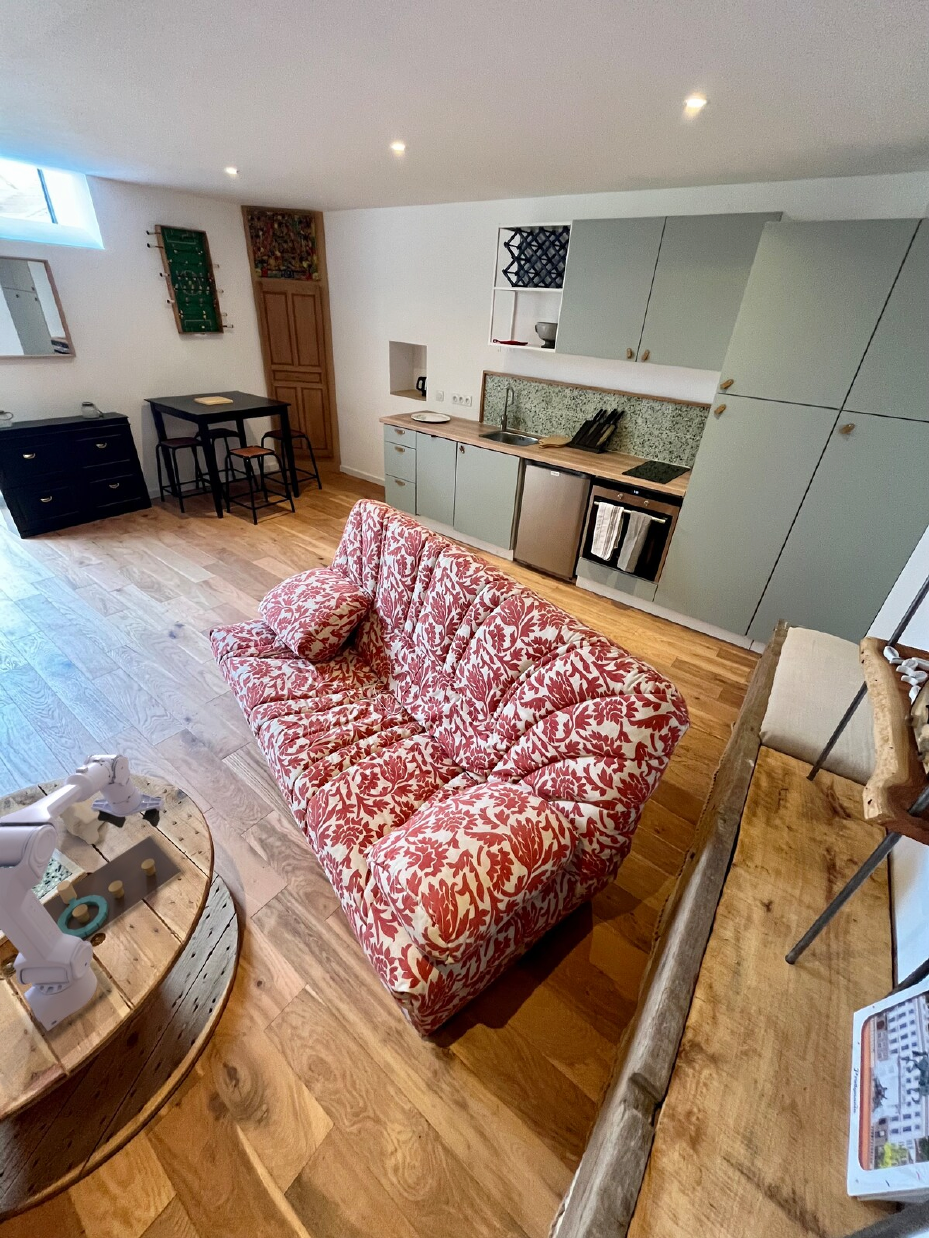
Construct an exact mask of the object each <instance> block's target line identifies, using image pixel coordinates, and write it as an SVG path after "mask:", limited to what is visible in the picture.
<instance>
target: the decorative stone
mask: <svg viewBox="0 0 929 1238" xmlns="http://www.w3.org/2000/svg"><path fill="white" fill-rule="evenodd" d="M94 800H95V799H93V798H89V799H87V800H86V801H83V802H74V803H73V804H72V805H71V806H70V807H68V808H67V809H66V810H65V811H64V812H63V813H62V814H60V815H59V816H58V817H59V818H60V819H62V821H63V823H64V824H65V829H66V830H67V831H68V832H69V833H70V834H71V835H73V836H75V837H78V838H80V839H81V840H83V841H85V843H87V845H90V846H91V845H93V844H95V843H96V842H97V841H98V840H99V839H100V834H99V829H100V827H101V826H102V825H103V824H104V823H106V822H105V821H99V820H98V815H99V811H98V812H94V811H93V810H92V809H91V806H92V804H93V802H94Z"/></svg>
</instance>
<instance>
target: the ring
mask: <svg viewBox="0 0 929 1238" xmlns="http://www.w3.org/2000/svg"><path fill="white" fill-rule="evenodd" d="M72 886H73V885H72V882H71V881H70V880H62V881H61V882H59V883H58V884H57V886H56V890H57V892H58V895H59V894H60V896H61V898H62V900H63V901H64V903H65V904H70V905H69V906H68V907H69V908H68V907H67V908H66V909H65V911H64V912H63V913H62V914H61V916H60V918H59V919H58V924H57V926H58V927H59V929H60V930H61V931H62V933H64V934H68V935H72V936H76V937H79V938H83V937H86V935H89V934H91V933H92V932H94V931H95V930H96V929H98V928H99V927H100V926H101V924H102V923H103V922H104V920H105V919H106V916H107V915H108V909H109V906H108V904H107V902H106V901H105V899H104V898H103V897H102V896H97V895H93V896H92V895H90V896H87V897H83V898H81V899H78V900H76V898H77V894H76V893H75V891H74V889H73V887H72ZM82 904H85V905H87V906H88V905H97V906H99V913H98V915H97V916H96V918H95V919H94V920H93V921H92V922H91V923H90V924H88V925H87V926H85V927H83V928H80V929H77V930H71V929H68V928H67V924H68V920H69V919H70V917H71V916H72V915H73V914H72V913H73V910H74V909H75V908H76V907H77V906H79V905H82ZM98 926H99V927H98Z"/></svg>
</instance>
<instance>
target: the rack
mask: <svg viewBox="0 0 929 1238" xmlns="http://www.w3.org/2000/svg"><path fill="white" fill-rule="evenodd" d="M179 873H181V869H180V868H179V867H178V866H177V865H176V864H175V862H173V860H172V859H171V858H170V857H169V856H168V855H167V853H166V852H164V850H163V849H162V848H161V847H160V846H159V845H158V844H157V842H156V841H155V840H154V839H153V838H152V837H151V836H147V837H146V838H144V839H143V840H141V841H140V842H137V844H135V845H134V846H132V847H130V848H129V849H128V850H127V849H126V851H124V852H123V853H121V854H120V855H118V856H117V857H115V858H114V859H112V860H110V861H109V862H107V863H105V864H103V866H101V867H99V868H98V869H96V870H95V871H93V872H92V873H90V874H89V875H87V876H85V877H84V878H82V879H81V880H79V881H78V882H77V883H75V884H73V885H72V887H73V889H74V891H75V893H76V894H77V898H76V900H78V899H81V898H83V897H87V896H90V895H92V896H93V895H97V896H102V897H103V898H104V899H105V901H106V902H107V904H108V906H109V909H108V915H107V916H106V919H105V920H104V922H103V923H102V924H101V926H100V927H99V926H98V927H99V928H98V929H96V930H95V931H94V932H92V933H91V934H89V935H86V937H83V938H81V939H82V940H83V941H88V940H89V939H90V938H91V937H92V936H94V935H95V934H97V933H98V932H100V931H101V930H102V929H104V927H107V925H109V924H111V923H112V922H113V921H114V920H116V919H117V918H119V917H120V916H122V915H123V914H124V913H125V912H127V911H128V910H129V909H131V908H133V906H135V905H136V904H138V903H139V902H140V901H142V900H143V899H145V898H146V897H147V896H149V895H150V894H152V893H153V892H154V891H156V890H157V889H158V888H160V887H161V886H162V885H164V884H165V883H166V882H168V881H169V880H171V879H173V877H175V876H176V875H177V874H179ZM58 895H59V896H58ZM58 895H56V896H54V897H53V898H54V899H53V898H52V899H50V900H49V901H47V902H45V903H44V904H42V905H43V906H44V908H45V909H46V910H47V912H48V913H49V915H50V916H51V917H52V919H53V920H54V922H55V923H56V924H58V919H59V918H60V916H61V914H62V913H63V912H64V911H65V909H66V908H67V907H68V906H69V905H70V904H65V903H64V901H63V900H62V898H61V896H60V894H59V893H58ZM68 908H69V907H68ZM98 913H99V906H97V905H88V906H87V905H85V904H82V905H79V906H77V907H76V908H75V909H74V910H73V913H72V914H73V915H72V916H71V917H70V919H69V920H68V924H67V928H68V929H71V930H77V929H80V928H83V927H85V926H87V925H88V924H90V923H91V922H92V921H93V920H94V919H95V918H96V916H97V915H98Z"/></svg>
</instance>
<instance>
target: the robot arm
mask: <svg viewBox="0 0 929 1238" xmlns="http://www.w3.org/2000/svg"><path fill="white" fill-rule="evenodd" d="M129 763H130V762H129V758H128V755H127V756H124V755H123V754H120V753H119V754H114V753H113V754H109V753H107V754H105V753H103V754H102V753H101V754H99V753H98V754H91V755H87V757H86V758H85V759H84V761H83V764H82V765H81V766H79V767H77V768H76V769H75V771H74V772H73V773H71V774H70V775H68V776H66V778H64V779H63V780H62V782H61V786H60V788H58V789H56V790H55V791H52V792H51V793H49V794H48V795H46V796H44V797H42V798H40V799H38V800H37V801H35V802H33V803H32V804H29V805H28V806H26V807H24V808H22V809H19V810H17V811H13V812H11V813H8V814H5V815H3V816H1V817H0V931H1V932H2V933H3V935H4V936H5V937H6V938H7V939H8V941H10V943H11V944H12V945H13V946H14V947H15V949H16V950H17V951H18V954H17V956H16V958H15V960H14V962H13V965H12V968H14V970H15V972H16V973H15V974H16V981H17V983H18V984H19V985H20V986H26V985H30V984H31V987H30V988H29V989H28V990H27V991H25V992H24V993H23V995H24V998H25V999H26V1001H27V1003H28V1005H29V1007H30V1008H31V1010H32V1012H33V1013H34V1017H35V1019H36V1020H37V1021H38V1023H41V1025H42V1026H43V1027H44V1029H45V1030H46V1031H47V1032H49V1031H51V1030H52V1029H54V1028H55V1027H56V1026H57V1025H58V1024H60V1023H61V1022H62V1021H63V1020H65V1019H66V1018H68V1017H69V1016H71V1015H72V1014H74V1013H76V1012H77V1011H79V1010H81V1009H82V1008H83V1007H85V1006H86V1005H87V1004H89V1002H90V1001H91V1000H92V998H93V996H94V995H95V993H96V991H97V988H98V979H97V976H96V975H95V973H94V971H93V970H92V968H91V963H92V960H93V957H94V947H93V945H92V942H90V941H89V940H85V941H83V940H82V939H81V938H79V937H76V936H72V935H68V934H64V933H62V931H61V930H60V929H59V927H58V926H57V924H56V923H55V922H54V920H53V919H52V917H51V916H50V915H49V913H48V912H47V910H46V909H45V908H44V906H43V905H44V904H43V903H42V902H41V901H40V899H39V897H38V896H37V895H36V893H35V892H34V891H33V888H34V887H36V886H39V884H41V883H42V880H43V878H44V876H45V873H46V871H47V869H48V866H49V864H50V861H51V859H52V856H53V855H54V852H55V850H56V847H57V845H58V836H59V835H60V827H59V823H58V821H57V820H56V819H57V818H58V817H60V816H59V815H60V814H62V813H63V812H64V811H65V810H66V809H67V808H68V807H70V806H71V805H72V804H73V803H74V802H83V801H86V800H87V799H91V798H92V797H93V796H94V795H96V794H97V793H98V792H100V793H101V794H102V796H103V798H98V799H93V800H94V802H93V804H92V806H91V809H92V810H93V811H94V812H98V811H99V815H98V820H99V821H105V822H104V823H108V824H111V825H113V826H115V827H117V828H118V829H122V828H123V827H124V825H125V823H126V820H127V817H130V816H133V815H136V814H139V813H143V812H144V813H143V815H142V819H141V820H143V821H147V822H148V823H149V824H150V826H151V827H153V828H157V827H158V825H159V822H160V821H161V819H160V811H162V810H163V808H164V806H165V803H166V802H165V800H164V799H163V797H161V796H152V795H149V794H147V793H143V792H140V787H137V786H136V785H135V783H134V780H133V779H132V777H131V770H130V768H129V767H130V766H129Z"/></svg>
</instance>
